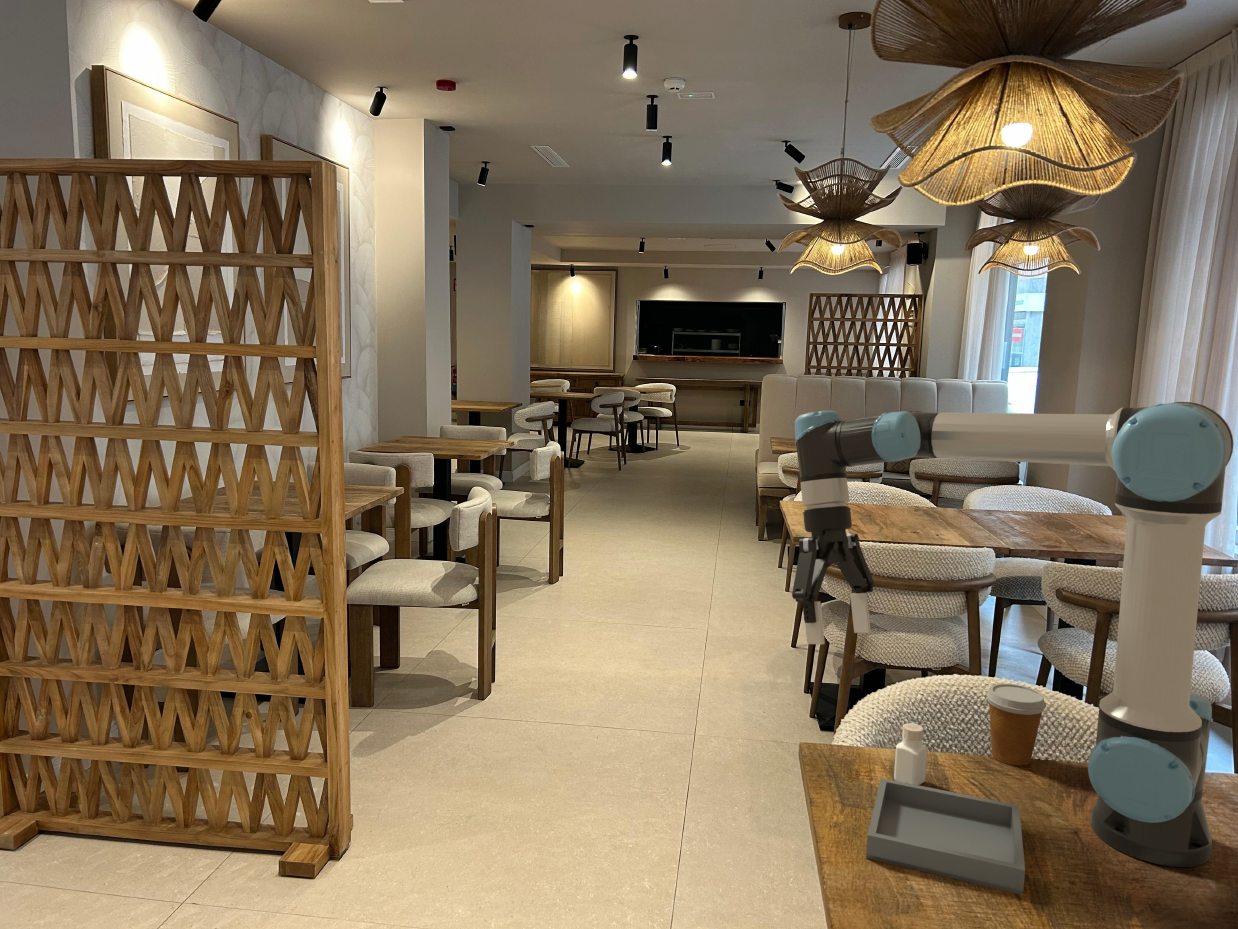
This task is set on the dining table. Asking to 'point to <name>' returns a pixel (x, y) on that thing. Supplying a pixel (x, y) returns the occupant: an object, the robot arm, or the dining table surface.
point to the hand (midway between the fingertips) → (840, 638)
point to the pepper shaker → (911, 756)
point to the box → (948, 835)
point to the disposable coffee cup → (1014, 722)
